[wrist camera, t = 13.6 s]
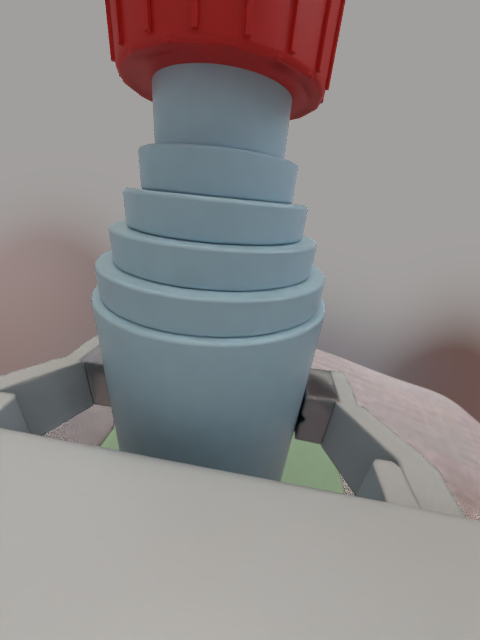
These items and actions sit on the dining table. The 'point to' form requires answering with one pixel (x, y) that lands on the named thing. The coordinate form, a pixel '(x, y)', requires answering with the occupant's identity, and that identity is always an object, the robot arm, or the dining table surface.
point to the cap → (229, 41)
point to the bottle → (211, 280)
